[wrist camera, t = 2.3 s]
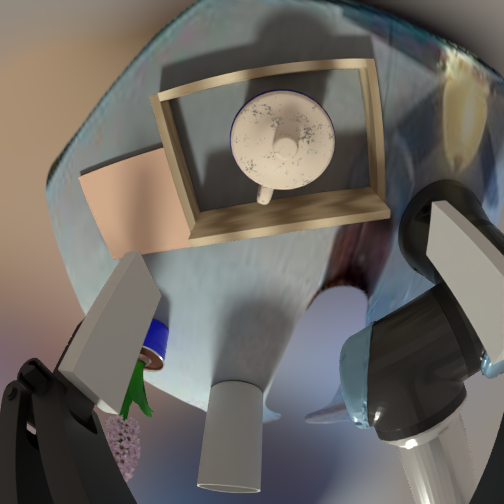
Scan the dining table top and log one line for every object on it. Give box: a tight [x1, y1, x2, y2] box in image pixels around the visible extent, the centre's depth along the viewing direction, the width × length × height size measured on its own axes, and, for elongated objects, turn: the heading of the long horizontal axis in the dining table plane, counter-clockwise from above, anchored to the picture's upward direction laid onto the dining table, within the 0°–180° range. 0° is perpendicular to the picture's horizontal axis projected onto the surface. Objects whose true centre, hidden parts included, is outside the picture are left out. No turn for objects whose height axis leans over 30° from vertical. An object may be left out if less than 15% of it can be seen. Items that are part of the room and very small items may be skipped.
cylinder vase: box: [197, 381, 263, 493], centre depth 50 cm, size 12×12×25 cm
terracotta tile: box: [78, 147, 192, 259], centre depth 36 cm, size 14×14×1 cm
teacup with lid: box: [230, 89, 335, 205], centre depth 26 cm, size 12×9×12 cm
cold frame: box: [150, 59, 390, 247], centre depth 27 cm, size 24×17×7 cm
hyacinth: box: [105, 319, 169, 481], centre depth 37 cm, size 9×10×30 cm
